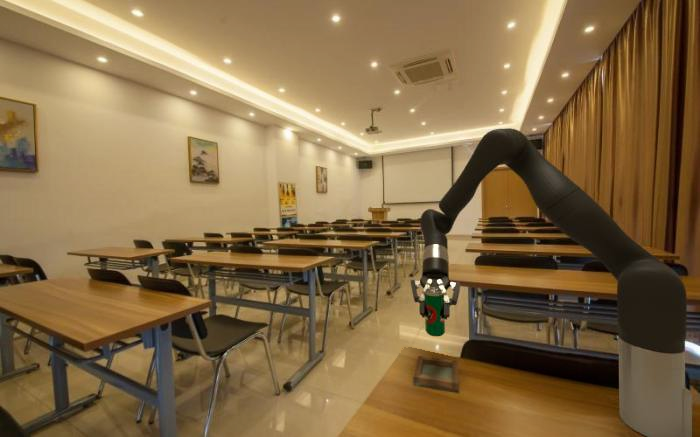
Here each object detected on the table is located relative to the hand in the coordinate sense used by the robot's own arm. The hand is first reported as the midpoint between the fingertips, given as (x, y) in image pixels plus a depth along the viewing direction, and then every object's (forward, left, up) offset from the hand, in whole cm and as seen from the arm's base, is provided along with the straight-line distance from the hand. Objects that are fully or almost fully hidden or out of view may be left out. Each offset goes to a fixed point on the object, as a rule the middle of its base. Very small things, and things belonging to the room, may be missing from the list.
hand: (434, 317), depth 76 cm
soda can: (0, -2, -5) cm, 6 cm away
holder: (0, -2, -17) cm, 17 cm away
